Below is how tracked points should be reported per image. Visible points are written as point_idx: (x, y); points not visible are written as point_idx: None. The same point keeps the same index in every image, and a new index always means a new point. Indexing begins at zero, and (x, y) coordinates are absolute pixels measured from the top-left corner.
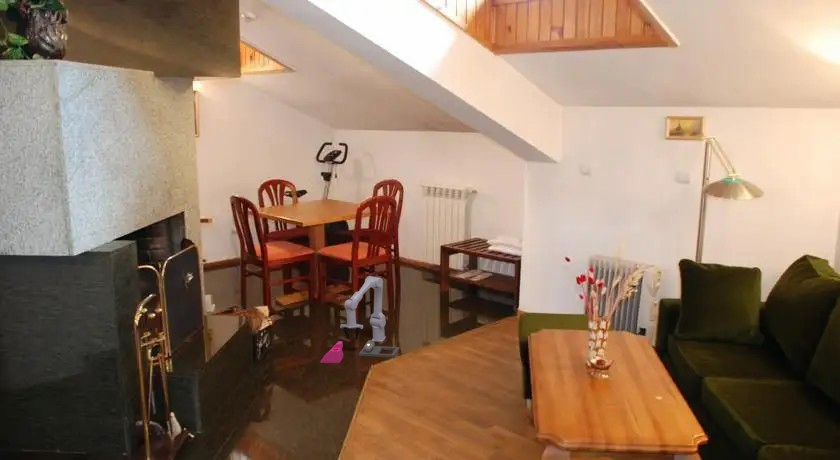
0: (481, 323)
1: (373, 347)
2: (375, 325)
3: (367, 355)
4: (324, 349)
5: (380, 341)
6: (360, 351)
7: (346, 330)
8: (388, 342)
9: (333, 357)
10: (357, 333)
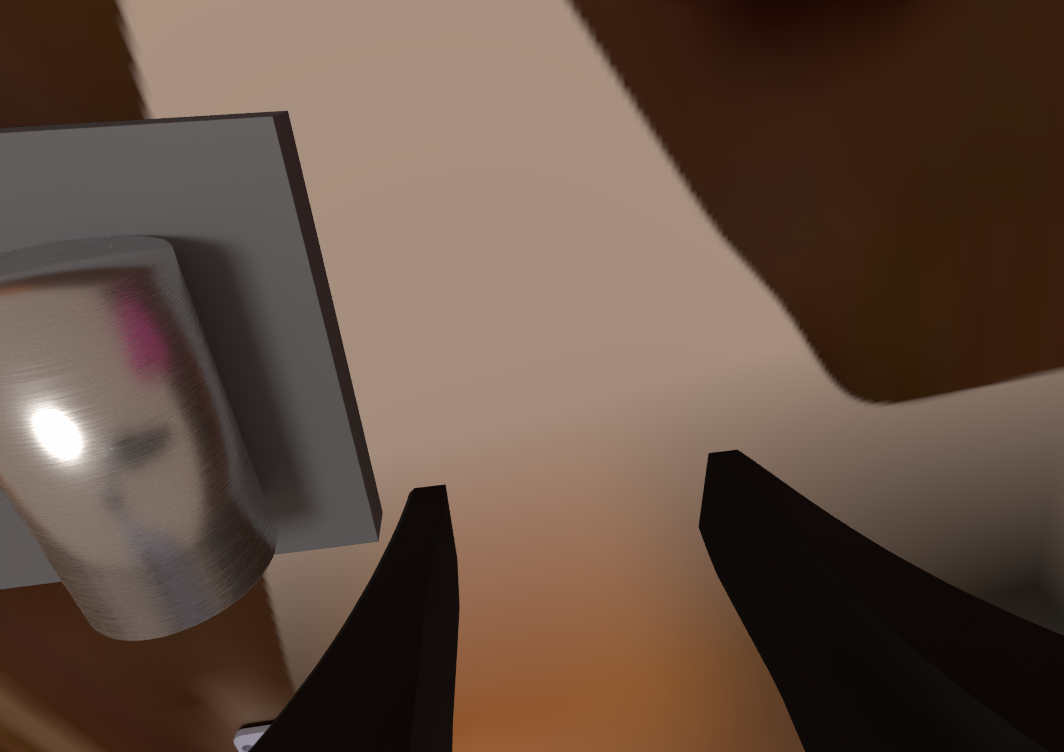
0: None
1: None
2: None
3: (43, 127)
4: (1051, 305)
5: (267, 725)
6: (305, 264)
7: (1018, 746)
8: (143, 732)
9: None
10: (297, 696)
